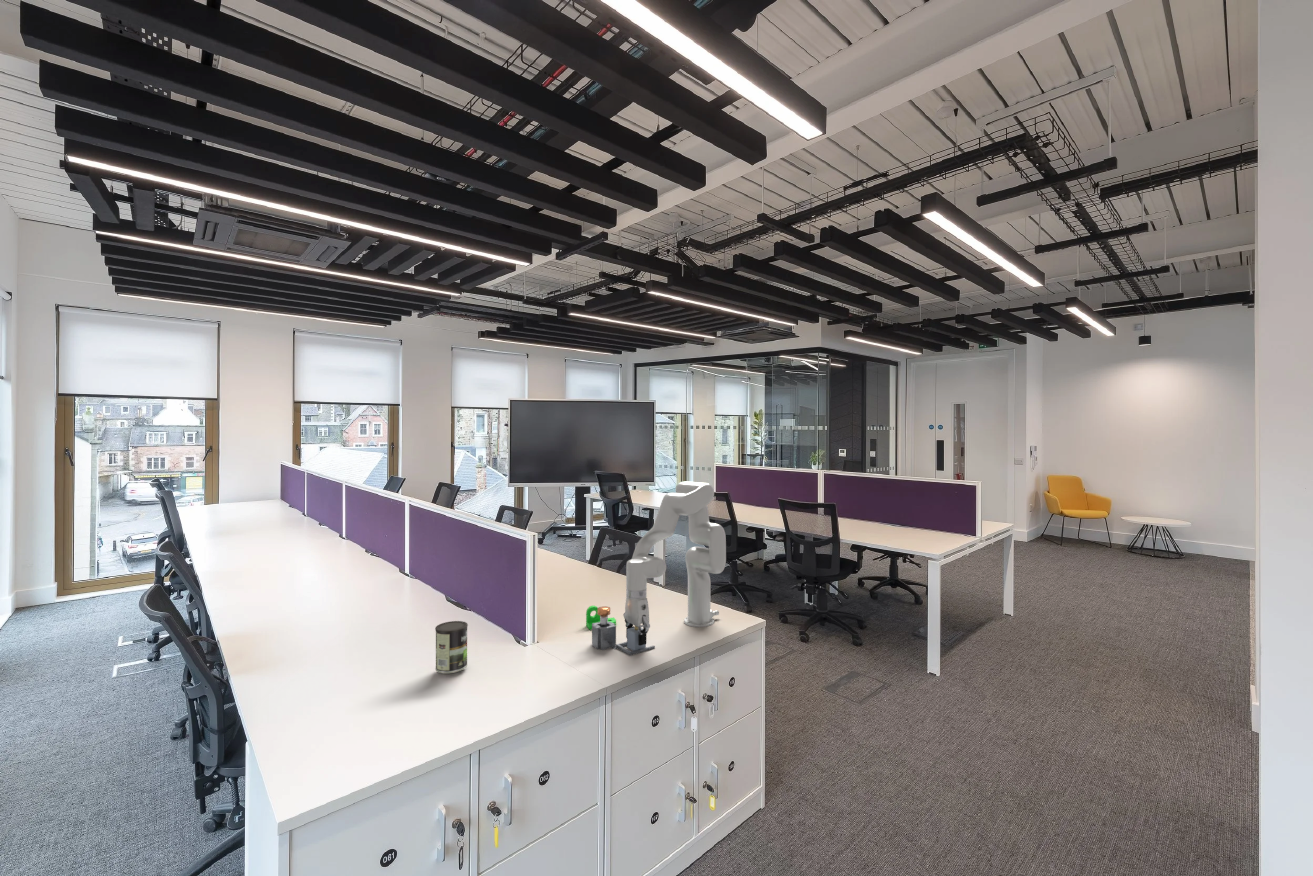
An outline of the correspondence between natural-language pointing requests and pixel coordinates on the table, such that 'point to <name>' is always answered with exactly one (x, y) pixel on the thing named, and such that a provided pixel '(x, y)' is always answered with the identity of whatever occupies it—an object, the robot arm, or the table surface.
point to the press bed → (621, 647)
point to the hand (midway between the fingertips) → (636, 640)
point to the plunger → (604, 615)
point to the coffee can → (451, 646)
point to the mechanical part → (595, 617)
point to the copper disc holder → (603, 636)
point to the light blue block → (633, 639)
